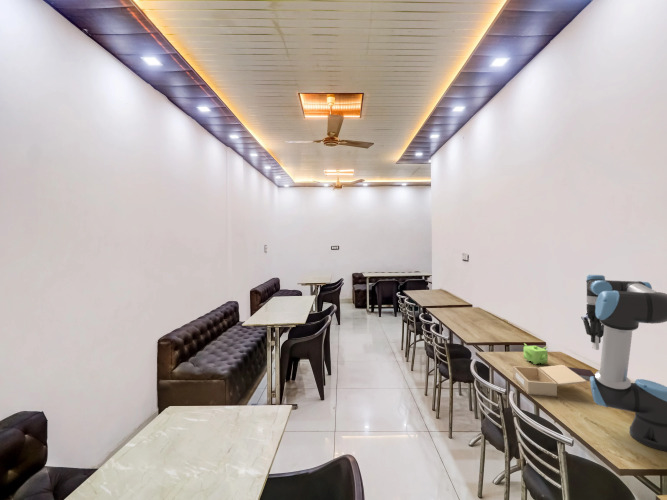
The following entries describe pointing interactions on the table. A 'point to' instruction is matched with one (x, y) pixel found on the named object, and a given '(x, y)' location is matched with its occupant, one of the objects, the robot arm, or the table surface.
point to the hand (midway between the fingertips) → (595, 348)
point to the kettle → (535, 354)
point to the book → (582, 372)
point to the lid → (562, 375)
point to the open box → (535, 381)
